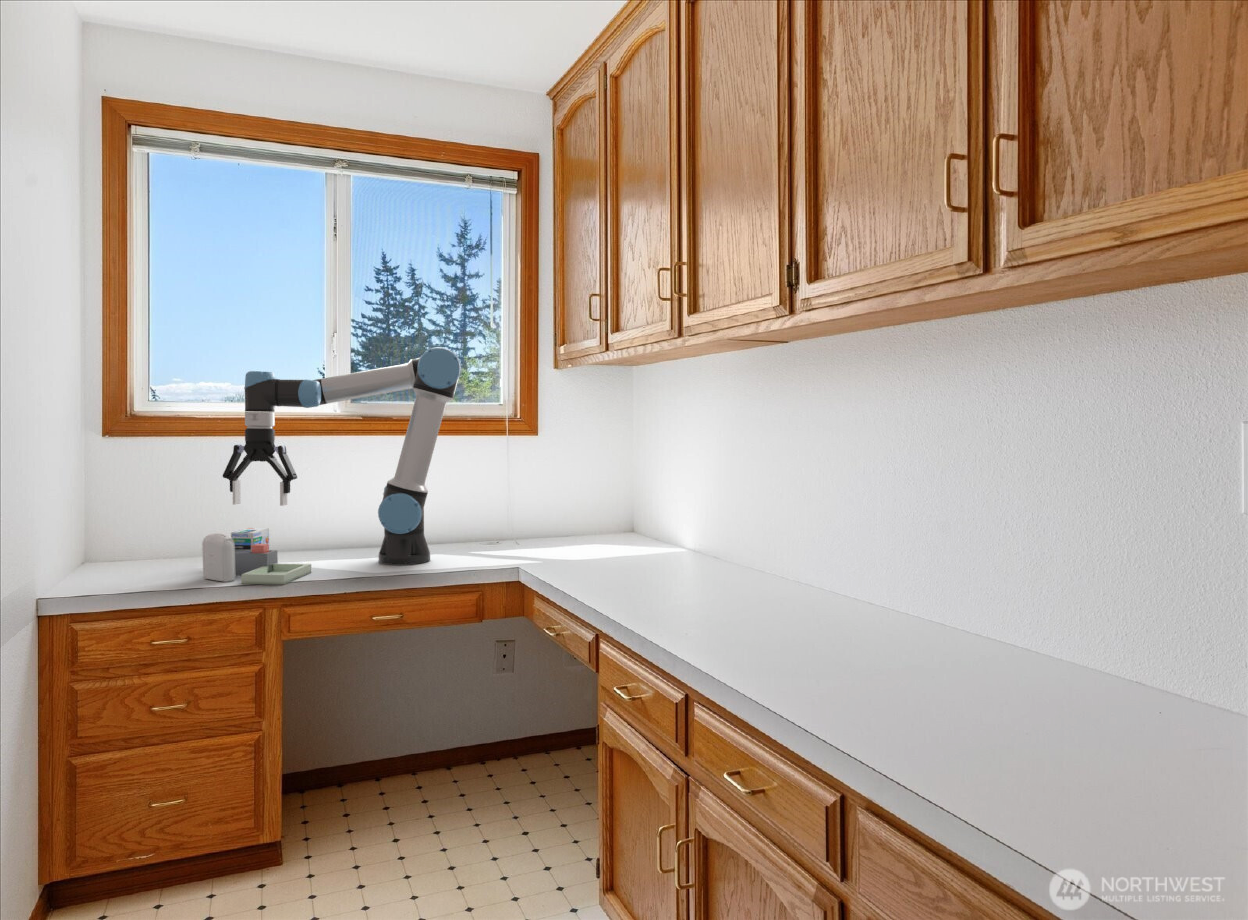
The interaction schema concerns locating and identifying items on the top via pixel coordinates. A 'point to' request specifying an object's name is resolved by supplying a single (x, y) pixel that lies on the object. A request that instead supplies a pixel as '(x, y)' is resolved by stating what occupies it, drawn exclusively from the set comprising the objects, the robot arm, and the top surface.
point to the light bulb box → (250, 537)
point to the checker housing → (254, 560)
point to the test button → (260, 548)
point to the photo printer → (218, 557)
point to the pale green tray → (276, 574)
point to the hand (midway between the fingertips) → (260, 504)
